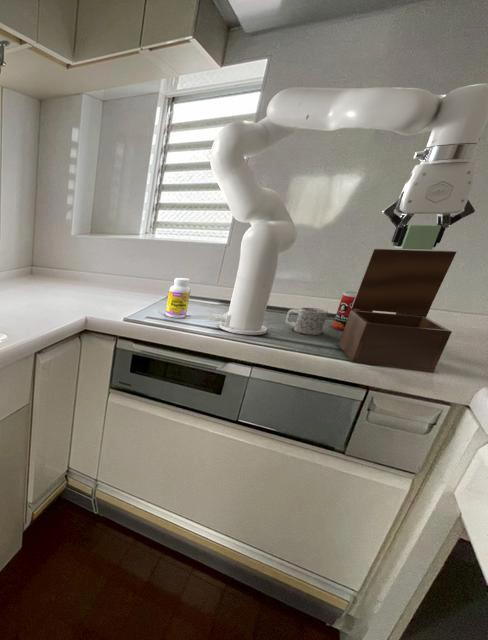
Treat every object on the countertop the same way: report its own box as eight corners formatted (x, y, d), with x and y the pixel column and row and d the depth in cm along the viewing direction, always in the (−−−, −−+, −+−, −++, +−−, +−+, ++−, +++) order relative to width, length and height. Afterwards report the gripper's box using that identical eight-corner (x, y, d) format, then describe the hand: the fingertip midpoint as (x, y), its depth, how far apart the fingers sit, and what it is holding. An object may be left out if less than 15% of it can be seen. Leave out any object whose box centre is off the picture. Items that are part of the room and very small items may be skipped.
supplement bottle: (165, 317, 139) (172, 279, 134) (164, 313, 145) (170, 276, 140) (186, 319, 137) (194, 280, 132) (184, 314, 143) (191, 277, 138)
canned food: (325, 325, 128) (337, 291, 124) (351, 325, 128) (363, 291, 124) (344, 332, 121) (357, 296, 117) (372, 332, 121) (385, 296, 117)
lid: (456, 251, 92) (447, 247, 97) (374, 249, 99) (369, 245, 103) (426, 315, 100) (419, 309, 104) (351, 308, 106) (347, 303, 110)
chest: (433, 372, 92) (452, 331, 88) (352, 361, 98) (366, 323, 95) (409, 353, 104) (425, 316, 100) (338, 345, 110) (350, 310, 107)
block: (394, 247, 95) (402, 224, 93) (422, 247, 93) (431, 224, 91) (401, 248, 91) (410, 225, 89) (432, 249, 89) (441, 225, 87)
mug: (325, 332, 121) (332, 310, 119) (314, 335, 118) (321, 313, 116) (288, 324, 129) (294, 304, 127) (278, 327, 126) (283, 307, 124)
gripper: (399, 157, 85) (369, 246, 92) (516, 151, 78) (474, 249, 85) (388, 160, 91) (360, 244, 98) (495, 155, 84) (457, 246, 91)
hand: (413, 245), depth 92 cm, fingers closed on block, 5 cm apart
